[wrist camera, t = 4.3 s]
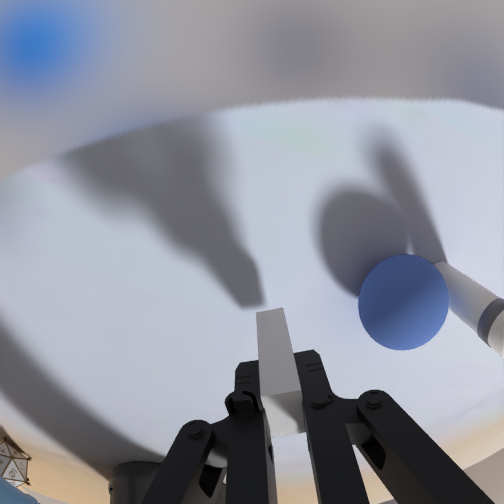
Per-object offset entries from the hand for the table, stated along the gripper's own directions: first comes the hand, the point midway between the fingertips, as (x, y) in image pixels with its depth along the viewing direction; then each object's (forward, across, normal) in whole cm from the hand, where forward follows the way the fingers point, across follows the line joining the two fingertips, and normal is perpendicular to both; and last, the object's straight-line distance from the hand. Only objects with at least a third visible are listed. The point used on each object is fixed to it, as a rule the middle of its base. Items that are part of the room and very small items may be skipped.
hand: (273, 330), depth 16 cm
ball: (-1, -8, 0) cm, 8 cm away
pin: (+2, -12, 0) cm, 12 cm away
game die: (+2, +41, +20) cm, 46 cm away
